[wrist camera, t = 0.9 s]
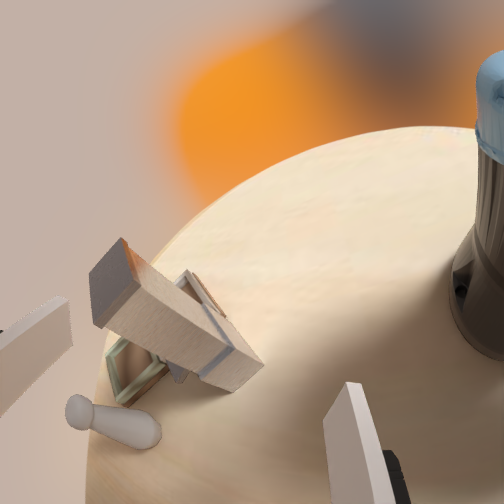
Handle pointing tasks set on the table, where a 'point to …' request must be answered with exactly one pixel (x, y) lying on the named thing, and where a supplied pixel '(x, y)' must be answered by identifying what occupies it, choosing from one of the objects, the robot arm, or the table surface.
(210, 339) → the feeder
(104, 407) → the salt shaker
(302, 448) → the table surface
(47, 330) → the robot arm
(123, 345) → the grey brown flat rectangle
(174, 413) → the table surface
